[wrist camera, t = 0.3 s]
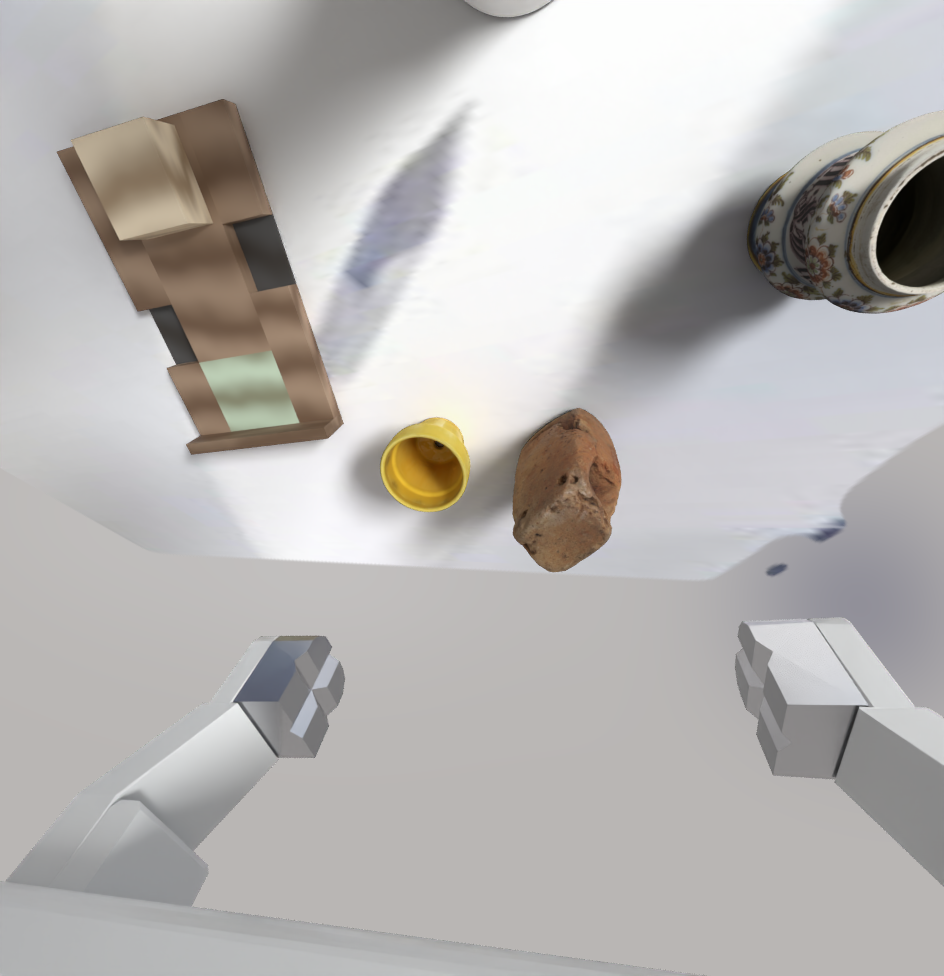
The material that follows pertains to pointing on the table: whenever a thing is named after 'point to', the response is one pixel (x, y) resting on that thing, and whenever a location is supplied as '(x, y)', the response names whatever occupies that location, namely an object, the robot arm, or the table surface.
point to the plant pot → (426, 465)
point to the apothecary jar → (858, 220)
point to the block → (566, 491)
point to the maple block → (143, 179)
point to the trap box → (225, 298)
